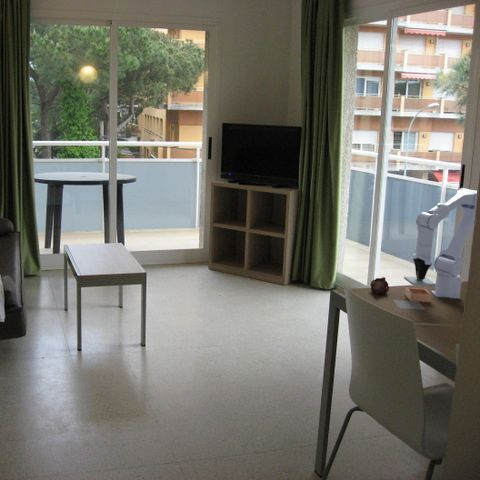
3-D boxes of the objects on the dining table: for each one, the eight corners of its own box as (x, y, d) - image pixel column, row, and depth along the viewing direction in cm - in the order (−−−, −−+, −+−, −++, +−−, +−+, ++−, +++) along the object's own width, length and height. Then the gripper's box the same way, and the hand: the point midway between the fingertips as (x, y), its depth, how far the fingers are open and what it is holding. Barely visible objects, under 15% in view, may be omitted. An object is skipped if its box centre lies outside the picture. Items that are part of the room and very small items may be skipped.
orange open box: (424, 297, 271) (425, 288, 271) (430, 303, 264) (431, 294, 263) (404, 296, 271) (405, 287, 270) (410, 302, 263) (411, 293, 263)
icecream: (389, 285, 262) (394, 279, 276) (371, 277, 264) (376, 272, 278) (382, 301, 263) (387, 294, 277) (364, 294, 265) (370, 287, 279)
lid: (425, 279, 271) (427, 268, 270) (435, 285, 262) (436, 275, 261) (404, 278, 269) (405, 267, 269) (412, 285, 261) (414, 274, 260)
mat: (417, 302, 263) (417, 301, 263) (425, 311, 254) (425, 309, 254) (392, 301, 263) (392, 299, 263) (398, 309, 253) (398, 308, 253)
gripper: (409, 239, 269) (405, 272, 272) (419, 247, 255) (415, 282, 258) (426, 240, 270) (422, 273, 273) (438, 248, 256) (433, 283, 259)
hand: (420, 277), depth 265 cm, fingers closed on lid, 2 cm apart
